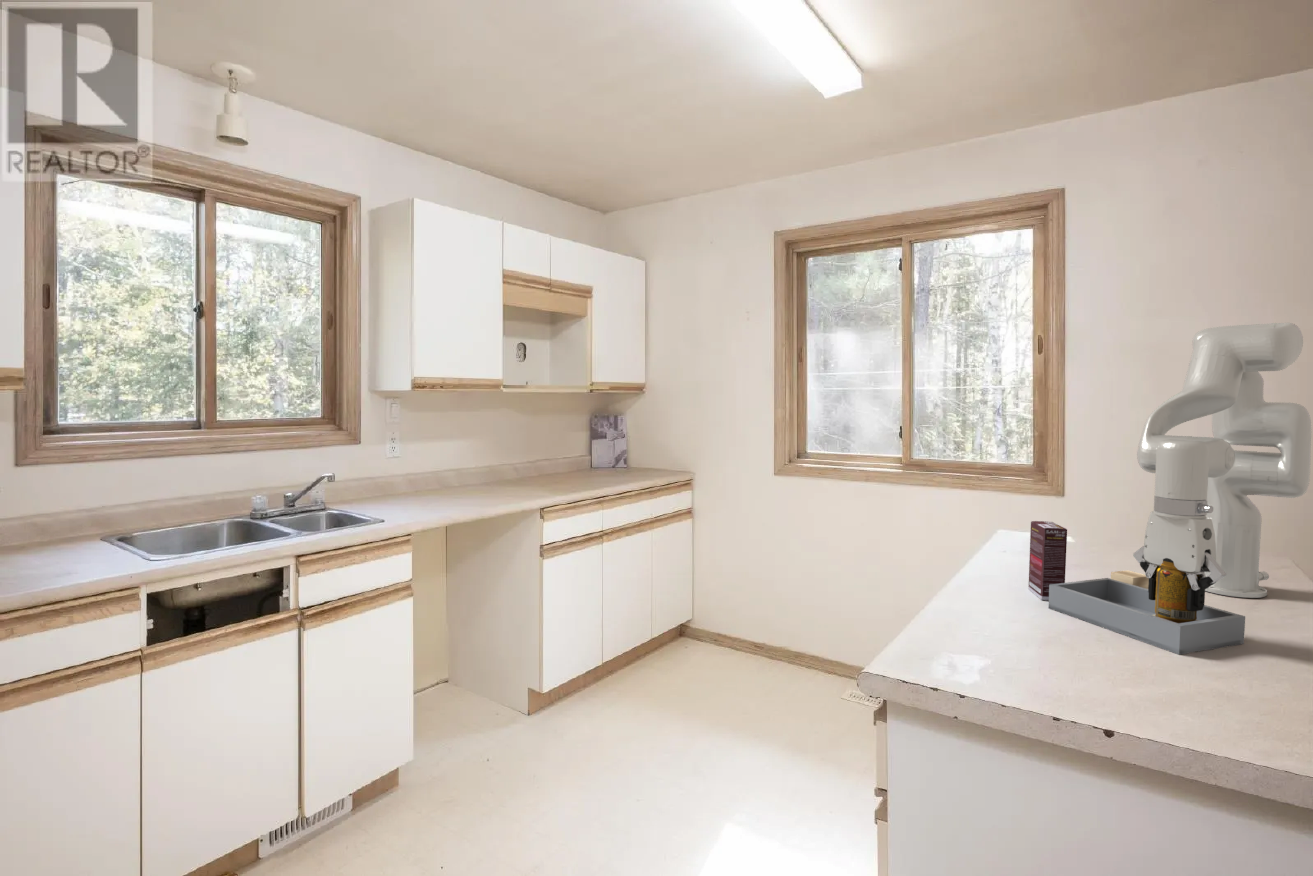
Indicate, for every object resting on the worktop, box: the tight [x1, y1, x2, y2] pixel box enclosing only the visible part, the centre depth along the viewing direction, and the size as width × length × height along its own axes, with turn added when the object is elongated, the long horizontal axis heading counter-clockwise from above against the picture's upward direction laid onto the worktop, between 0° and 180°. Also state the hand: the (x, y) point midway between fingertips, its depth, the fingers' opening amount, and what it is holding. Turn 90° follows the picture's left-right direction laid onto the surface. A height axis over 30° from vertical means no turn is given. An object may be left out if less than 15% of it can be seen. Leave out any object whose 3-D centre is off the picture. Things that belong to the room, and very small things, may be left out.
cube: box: [1110, 569, 1149, 589], centre depth 146 cm, size 5×5×5 cm
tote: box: [1048, 577, 1246, 656], centre depth 128 cm, size 16×26×5 cm, turn 17°
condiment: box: [1153, 558, 1199, 623], centre depth 121 cm, size 7×8×12 cm
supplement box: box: [1028, 520, 1068, 602], centre depth 147 cm, size 9×5×16 cm, turn 168°
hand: (1175, 603), depth 122 cm, fingers closed on condiment, 6 cm apart
